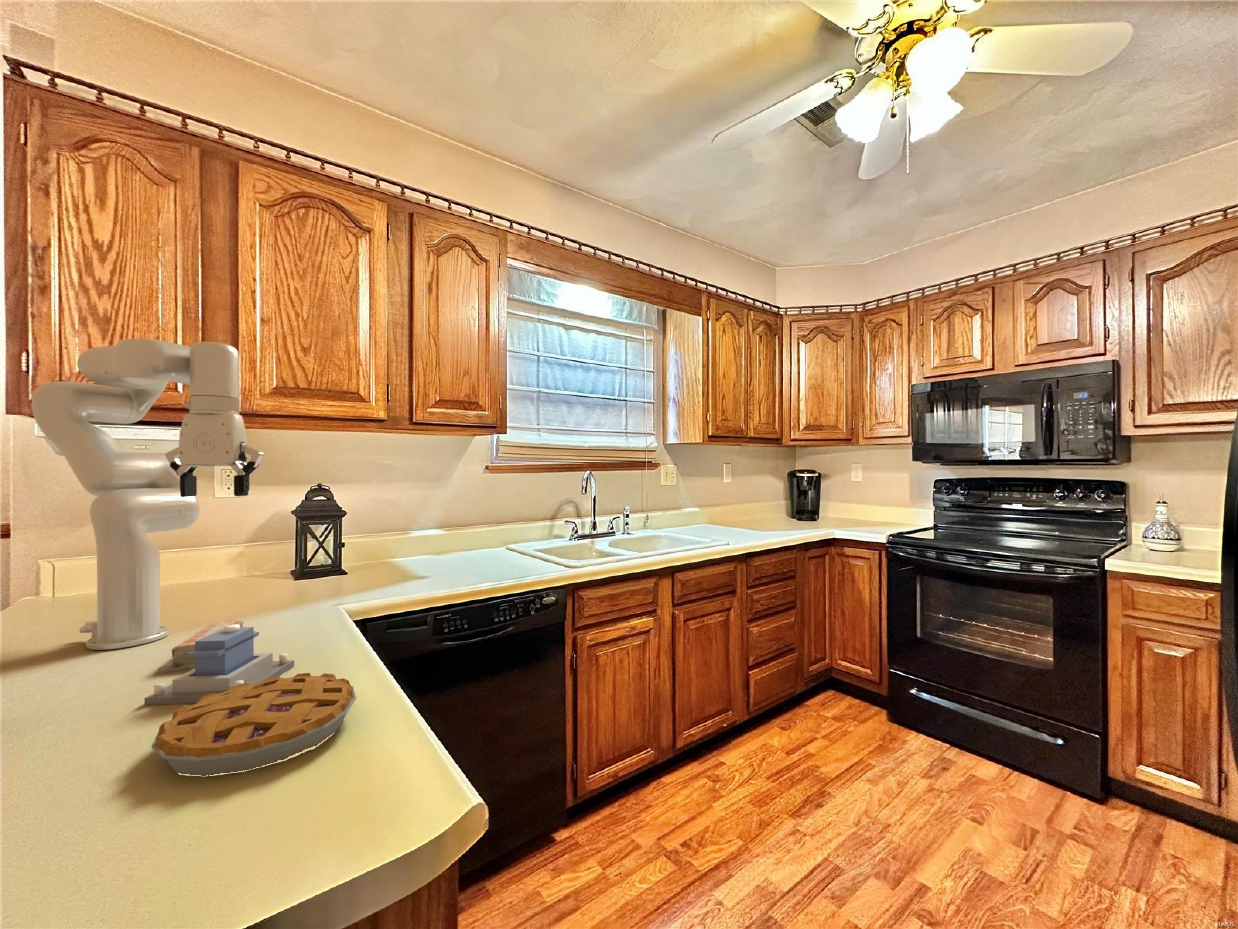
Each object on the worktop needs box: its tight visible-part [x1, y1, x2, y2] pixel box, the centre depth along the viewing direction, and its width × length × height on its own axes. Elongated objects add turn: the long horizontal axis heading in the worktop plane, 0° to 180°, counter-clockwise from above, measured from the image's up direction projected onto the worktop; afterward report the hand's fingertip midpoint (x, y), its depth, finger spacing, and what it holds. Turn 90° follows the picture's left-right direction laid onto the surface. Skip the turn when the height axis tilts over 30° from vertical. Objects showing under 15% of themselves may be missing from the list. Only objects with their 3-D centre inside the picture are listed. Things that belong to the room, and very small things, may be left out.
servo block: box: [188, 624, 260, 676], centre depth 84 cm, size 4×10×8 cm, turn 4°
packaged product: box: [157, 618, 257, 674], centre depth 99 cm, size 18×5×10 cm
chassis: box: [143, 652, 295, 706], centre depth 84 cm, size 14×14×3 cm
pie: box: [150, 672, 357, 776], centre depth 68 cm, size 22×22×5 cm
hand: (215, 496), depth 99 cm, fingers open, 9 cm apart
